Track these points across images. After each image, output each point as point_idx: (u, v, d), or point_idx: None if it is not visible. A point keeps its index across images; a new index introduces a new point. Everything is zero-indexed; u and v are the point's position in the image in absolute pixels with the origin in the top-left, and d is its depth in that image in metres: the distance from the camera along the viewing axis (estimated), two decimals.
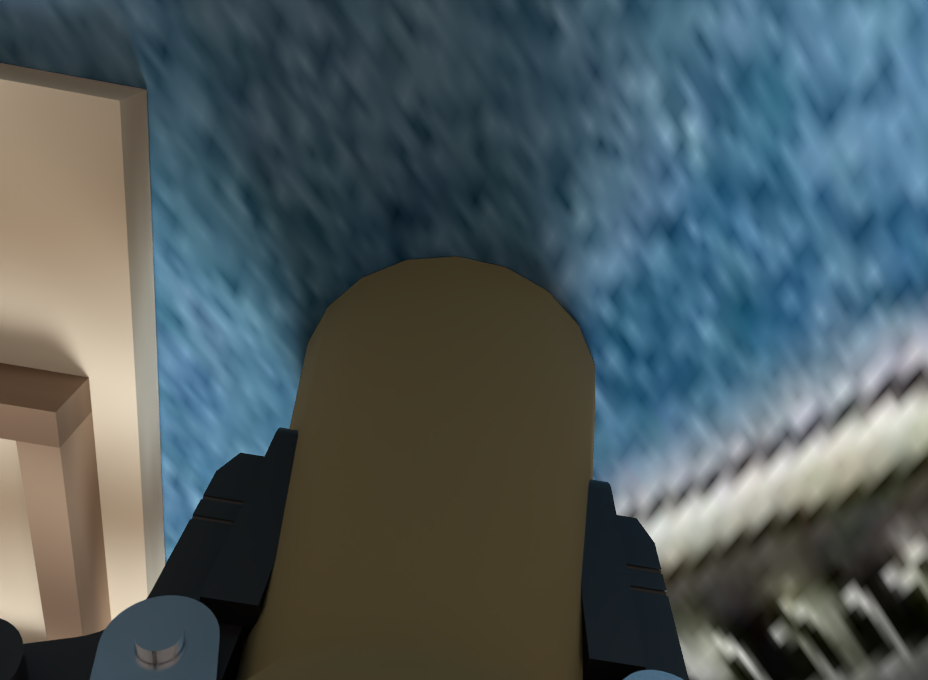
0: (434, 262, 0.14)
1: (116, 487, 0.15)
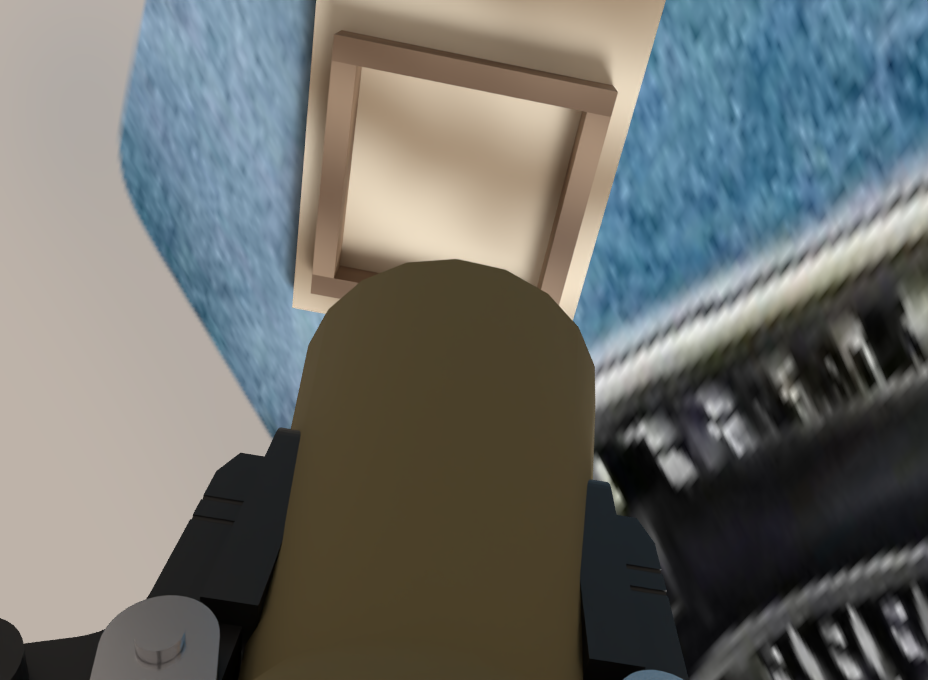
0: (434, 265, 0.14)
1: (602, 165, 0.26)
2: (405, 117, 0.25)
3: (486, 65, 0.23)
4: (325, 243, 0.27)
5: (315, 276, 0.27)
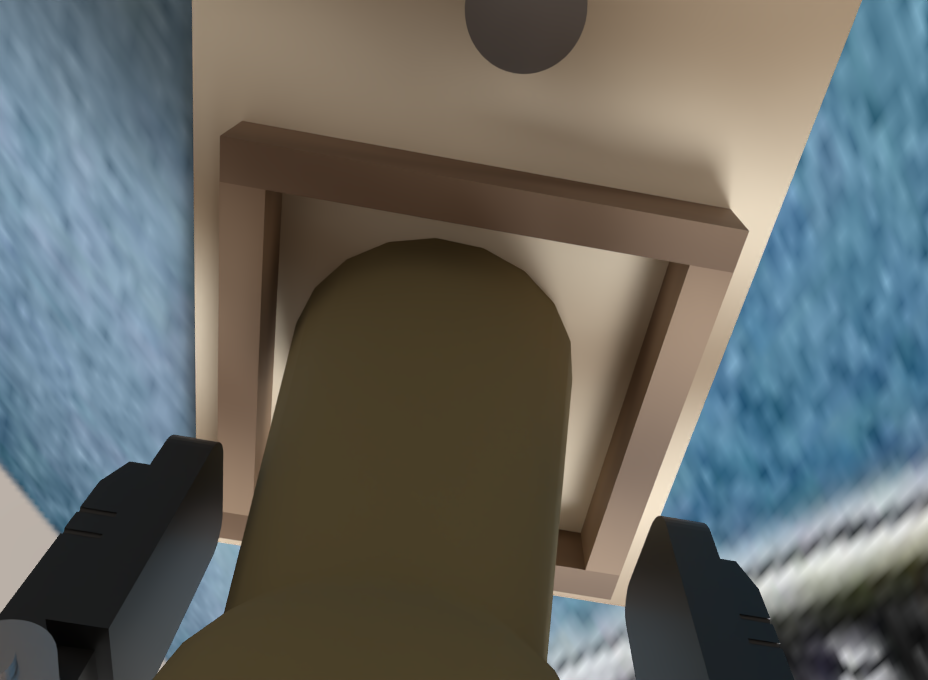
0: (415, 243, 0.14)
1: None
2: None
3: (506, 186, 0.13)
4: (234, 467, 0.16)
5: None
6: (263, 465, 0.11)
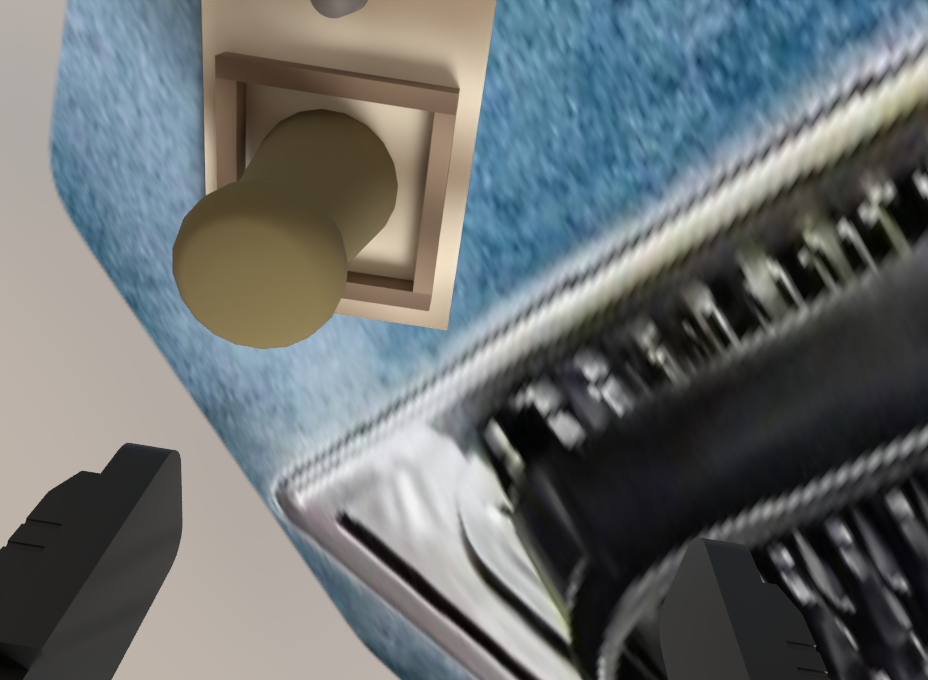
0: (311, 111, 0.29)
1: (459, 158, 0.30)
2: None
3: (345, 75, 0.28)
4: None
5: None
6: None
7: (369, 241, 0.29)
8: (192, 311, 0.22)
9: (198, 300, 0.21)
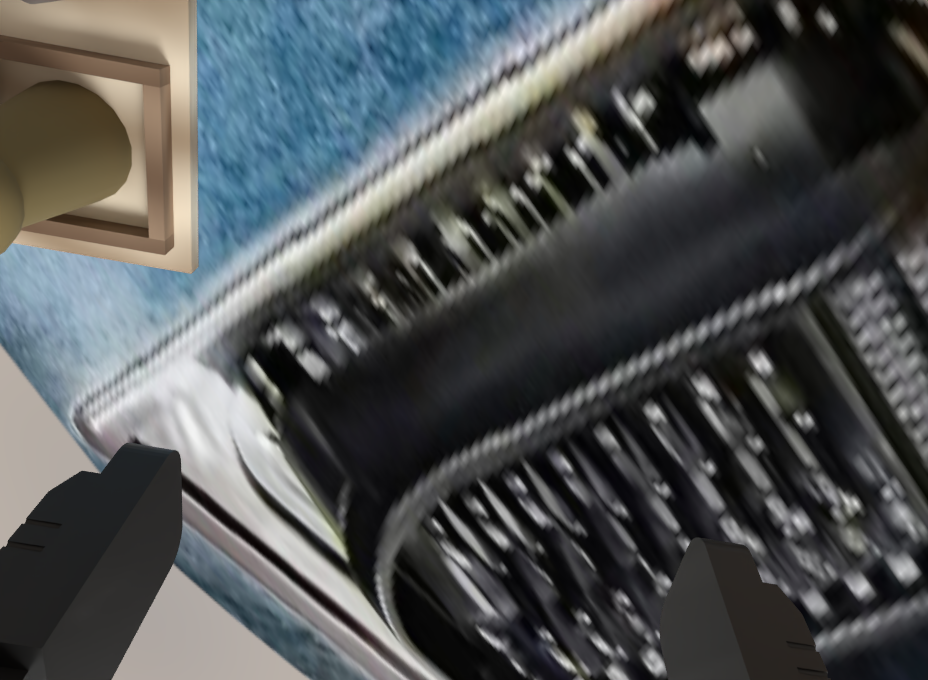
0: (48, 81, 0.35)
1: (179, 124, 0.36)
2: None
3: (65, 52, 0.33)
4: None
5: None
6: None
7: (94, 192, 0.35)
8: None
9: None
